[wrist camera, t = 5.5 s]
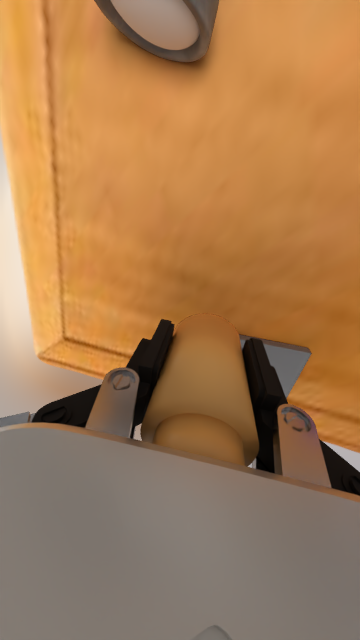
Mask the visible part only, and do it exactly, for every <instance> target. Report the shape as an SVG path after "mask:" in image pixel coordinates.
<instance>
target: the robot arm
mask: <svg viewBox="0 0 360 640" xmlns="http://www.w3.org/2000/svg"><path fill="white" fill-rule="evenodd" d="M173 331H174V324H171V321H169V320H164V319H161V321H160V323H159V325H158V327H157V329H156V331H155V333H154V335H153V337H152V339H151V340H149V339H144V338H143V339H142V340H141V342H140V343H139V345H138V347H137V349H136V350H135V352H134V354H133V356H132V357H131V359H130V361H129V363H128V364H127V366H126V368H116V369H113V370H111V371H110V372H109V373H107V374H106V376H105V377H104V380H103V382H102V384H101V385H99V386H96V387H93V388H90V389H88V390H85V391H82V392H79V393H76V394H73V395H71V396H68V397H65V398H62V399H60V400H57V401H54V402H51V403H49V404H47V405H45V406H43V407H42V408H41V409H39V410H38V411H37V413H34V414H30V412H26V413H21V414H16V415H12V416H7V417H4V418H0V640H360V472H359V471H358V470H356V469H355V468H354V467H353V466H352V465H350V464H349V463H348V462H347V461H345V460H344V459H343V458H342V457H341V456H339V455H338V454H337V453H336V452H335V451H333V450H332V449H331V448H330V447H329V446H327V445H326V444H325V443H324V442H322V441H321V440H320V439H319V438H318V434H317V430H316V426H315V424H314V422H313V420H312V419H311V417H310V416H309V415H308V414H307V413H306V412H305V411H303V410H302V409H300V408H298V407H296V406H294V405H291V404H288V402H287V399H286V397H285V394H284V391H283V389H282V386H281V383H280V381H279V378H278V375H277V372H276V370H275V368H274V367H273V366H271V365H270V362H269V359H268V356H267V353H266V350H265V347H264V345H263V342H262V340H261V339H256V338H250V339H249V340H248V339H247V340H246V341H245V344H244V346H243V349H242V353H243V359H244V364H245V370H246V375H247V381H248V386H249V391H250V397H251V402H252V408H253V413H254V419H255V424H256V430H257V435H258V440H259V451H258V454H257V457H256V458H255V460H254V461H253V462H252V468H250V467H246V466H242V465H238V464H234V463H230V462H226V461H222V460H218V459H214V458H210V457H205V456H201V455H197V454H193V453H189V452H185V451H181V450H177V449H173V448H168V447H164V446H160V445H156V444H152V443H148V442H143V441H139V440H135V439H134V435H135V429H136V426H137V425H139V424H141V423H142V422H143V419H144V416H145V413H146V410H147V408H148V405H149V402H150V399H151V396H152V393H153V390H154V388H155V386H156V383H157V380H158V378H159V375H160V372H161V369H162V366H163V363H164V360H165V357H166V354H167V351H168V348H169V345H170V342H171V339H172V337H173Z"/></svg>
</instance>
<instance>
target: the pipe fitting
mask: <svg viewBox="0 0 360 640" xmlns="http://www.w3.org/2000/svg"><path fill="white" fill-rule="evenodd" d="M94 1H95V2H96V4H97V5H98V7H99V8H100V10H101V11H102V12H103V14H104V15H105V16H106V17H107V18H108V19H109V20H110V21H111V23H112V24H113V25H114V26H115V27H116V28H117V29H118V30H119V31H120V32H122V33H123V34H124V35H125V36H126V37H127V38H129V39H130V40H131V41H133V42H134V43H135V44H137V45H138V46H140V47H141V48H143V49H145V50H147V51H148V52H150V53H152V54H154V55H157V56H159V57H161V58H164V59H168V60H173V61H178V62H192V61H196V60H199V59H201V58H202V57H203V56H204V55H205V54H206V52H207V50H208V47H209V44H210V40H211V35H212V31H213V27H214V23H215V18H216V14H217V9H218V4H219V0H94Z"/></svg>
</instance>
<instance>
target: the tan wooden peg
mask: <svg viewBox="0 0 360 640" xmlns="http://www.w3.org/2000/svg"><path fill="white" fill-rule="evenodd" d="M141 438H142V441H143V442H148V443H152V444H156V445H160V446H164V447H168V448H173V449H177V450H181V451H185V452H189V453H193V454H197V455H201V456H205V457H210V458H214V459H218V460H222V461H226V462H230V463H234V464H238V465H242V466H246V467H247V466H249V465H250V464H251V463H252V462H253V461H254V460H255V458H256V457H257V454H258V451H259V440H258V435H257V430H256V424H255V419H254V413H253V408H252V402H251V397H250V391H249V386H248V381H247V375H246V370H245V364H244V359H243V353H242V348H241V343H240V338H239V334H238V332H237V330H236V329H235V327H234V326H233V325H232V324H231V323H230V322H229V321H227V320H226V319H224V318H222V317H220V316H217V315H214V314H204V313H203V314H196V315H192V316H189V317H187V318H185V319H184V320H183V321H181V322H180V323H179V324H178V325H177V327H176V328H175V330H174V332H173V337H172V339H171V342H170V345H169V348H168V351H167V354H166V357H165V360H164V363H163V366H162V369H161V372H160V375H159V378H158V380H157V383H156V386H155V388H154V390H153V393H152V396H151V399H150V402H149V405H148V408H147V410H146V413H145V416H144V419H143V422H142V425H141Z"/></svg>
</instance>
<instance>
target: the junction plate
mask: <svg viewBox="0 0 360 640" xmlns="http://www.w3.org/2000/svg"><path fill="white" fill-rule="evenodd" d="M239 338H240V343H241V348H242V349H243V346H244V344H245V341H246V340H247V339H248V340H249V339H250V338H255V337H249V336H244V335H239ZM256 339H260V338H256ZM261 340H262V342H263V345H264V347H265V350H266V353H267V356H268V359H269V362H270V365H271V366H273V367H274V368H275V370H276V372H277V375H278V378H279V381H280V383H281V386H282V389H283V391H284V394H285V397H286V398H287V396H288V395H289V393H290V391H291V389H292V387H293V386H294V384H295V382H296V380H297V379H298V377H299V375H300V373H301V371H302V370H303V368H304V366H305V364H306V362H307V361H308V359H309V357H310V355H311V354H312V353H311V352H310V350H309V349H308V348H306V347H301V346H296V345H290V344H285V343H280V342H275V341H270V340H265V339H261Z"/></svg>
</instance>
